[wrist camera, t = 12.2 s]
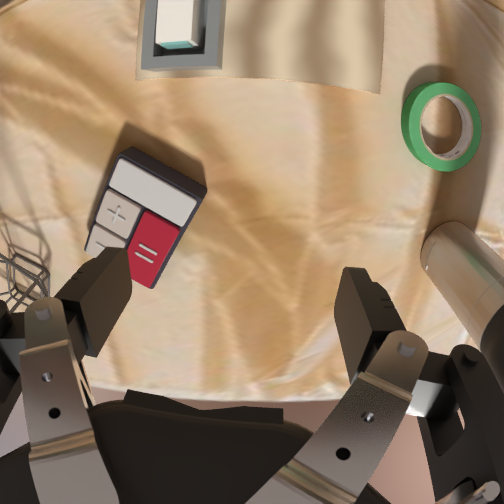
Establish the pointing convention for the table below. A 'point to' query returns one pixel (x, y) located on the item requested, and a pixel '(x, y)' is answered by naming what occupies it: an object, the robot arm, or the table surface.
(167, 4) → the white block
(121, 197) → the calculator
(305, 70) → the beige mat
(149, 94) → the table surface
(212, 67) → the end holder
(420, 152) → the tape roll
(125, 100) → the table surface
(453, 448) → the robot arm
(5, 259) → the geometric lantern
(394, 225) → the table surface
